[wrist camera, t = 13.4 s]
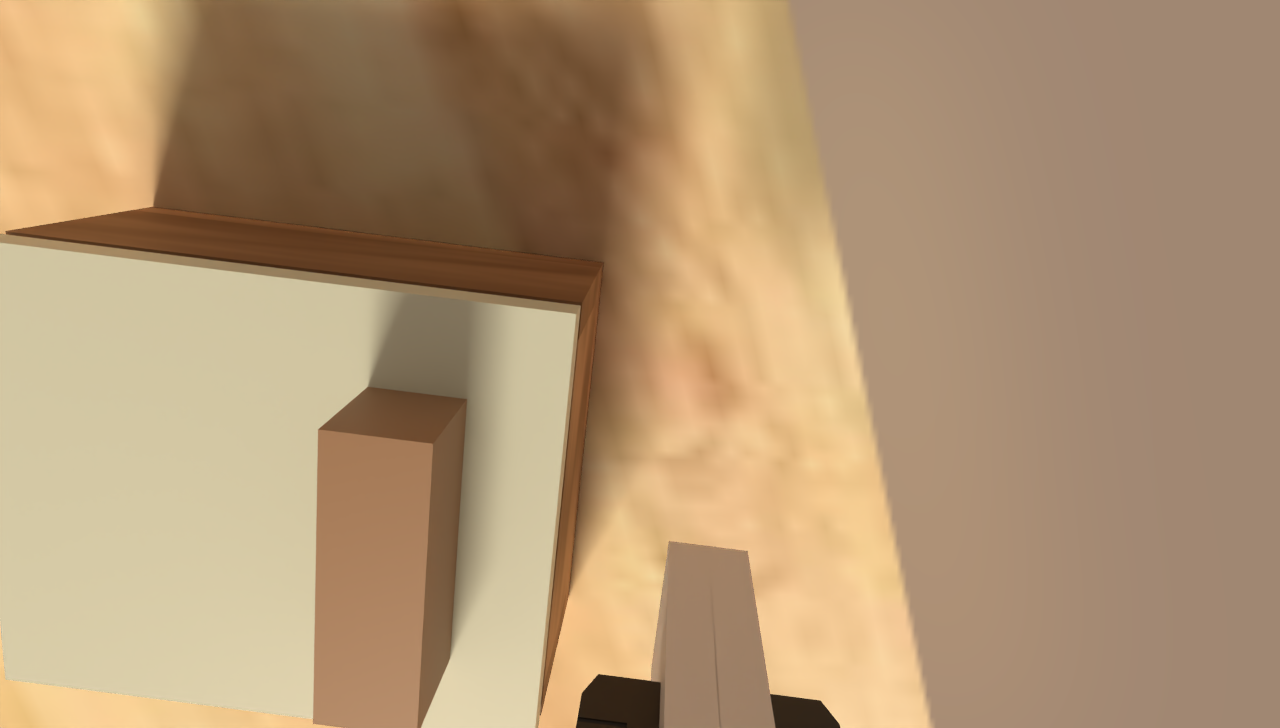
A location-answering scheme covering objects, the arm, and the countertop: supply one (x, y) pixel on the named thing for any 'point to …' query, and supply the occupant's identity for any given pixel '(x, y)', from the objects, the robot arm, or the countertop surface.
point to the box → (388, 264)
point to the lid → (278, 487)
